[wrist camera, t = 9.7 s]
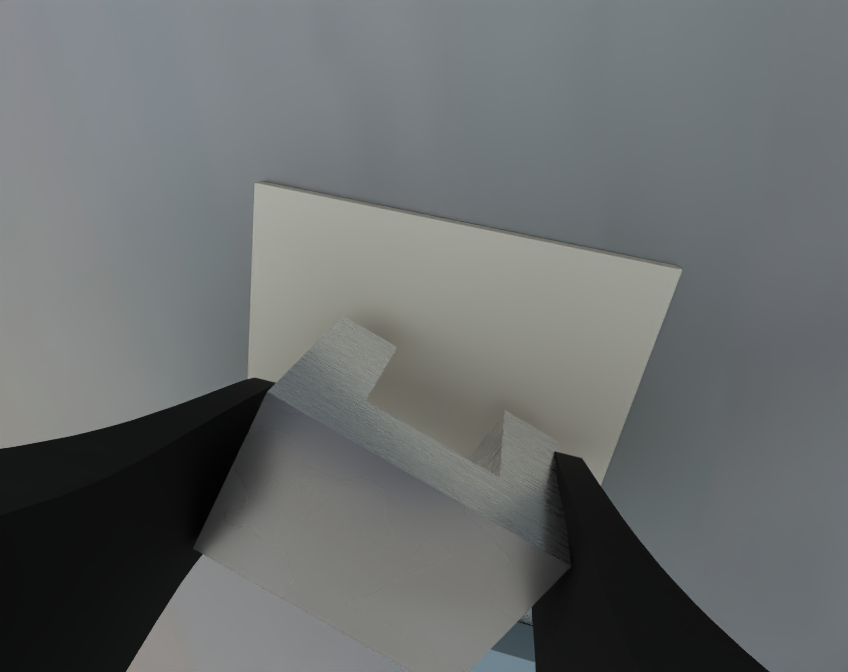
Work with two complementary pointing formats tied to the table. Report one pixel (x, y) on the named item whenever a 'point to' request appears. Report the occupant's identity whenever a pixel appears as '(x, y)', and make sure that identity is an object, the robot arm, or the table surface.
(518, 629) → the bench vise
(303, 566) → the grey notched block
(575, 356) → the cream mat
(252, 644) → the table surface
